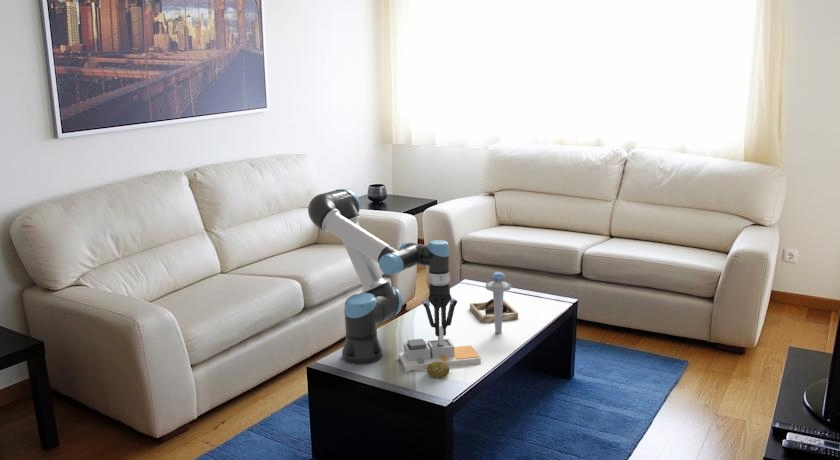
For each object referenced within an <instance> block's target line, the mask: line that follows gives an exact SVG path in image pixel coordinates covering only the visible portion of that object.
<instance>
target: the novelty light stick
mask: <svg viewBox="0 0 840 460" xmlns="http://www.w3.org/2000/svg"><path fill="white" fill-rule="evenodd" d="M505 279H506V275H505V274H504V273H503V272H501V271H495V272H492V276H491V280H492V281H488V282H486V283H485V289H486V290H487V291H490V292H492V296H493V297H492V299H494V313H493V315H494V318H495V321H494V331H495V334H502V330H503V327H502V326H503V320H502V314H503V313H504V312H503V300H504V292H507V291H510V290H511V288H512V284H511V283H510V282H508V281H504V280H505Z"/></svg>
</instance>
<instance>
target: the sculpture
mask: <svg viewBox="0 0 840 460" xmlns="http://www.w3.org/2000/svg"><path fill="white" fill-rule="evenodd" d="M426 372H427V374H428V375H429V376H430V377H432V378H434V379H441V378H444V377H445V378H446V376H448V375H449V373H450V367H449V366H448V365H447V364H446V363H443V362H433V363H431V364H429V365H428V367H427V369H426ZM436 377H437V378H436Z"/></svg>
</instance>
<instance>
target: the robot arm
mask: <svg viewBox="0 0 840 460" xmlns="http://www.w3.org/2000/svg"><path fill="white" fill-rule="evenodd" d="M307 210H308V211H307V212H308V213H307V214H308V216H309V220H310V221H311V222H312V223H313V225H315V226H316V227H317V228H318V229H319V230H321V231H323V232H324V233H331V234H332V235H334V236H336V237H337V238H339V239H340V240H341V241H342V244H343V245H344V248H345V250H346V253H347V254H348V257H349V260H350V261H351V265H352V267H353V268H354V270H355V273H356V275H357V278H358V279H359V280H358V281H359V282H360V284H361V286H362V289H361V292H360V293H355V294H352V295H350V296H348V298H347V299H346V300H345V301H344V309H343V310H344V311H343V312H344V323H345V324H344V326H345V341H344V343H343V348H342V353H341V355H342V360H343V361H344V362H346V363H348V362H349V364H352V363H354V365H366V364H367V365H368V364H372V363H375V362H378V361H379V360H381V359H382V358H383V348H382V345H381V343H380V341H379V338H378V327H377V326H378V325H379V324H381V323H383V322H385V321H387V320H390V319H392V318H394V317H395V316H396V315H398V314H399V313H400V312H401V310H402V307H403V296H402V294H401V292H400V290H399V289H398V288H396V287H395V286H392V285H391V284H390V281H389V280H387V279H385V278H383V276H382V273H383V274H384V275H387V276H392V275H395V274H396V275H397V274H399V273H400V272H402V271H405V270H407V269H410V268H412V267H414V266H417V265H418V266H419V265H420V266H427V267H428V282H429V284H428V289H429V290H428V291H429V293H428V294H429V296H428V297H427V298H428V299H427V300H426V301H423V302H422V305H423V306H424V308H425V311H426V315H427V319H428V322H429V325H430V327H431V328H434V334H435V336H436V337H437V340H438V344H439V345H444V339H445V338H444V337H445V336H446V335H447V327H448V326H450V327H451V325H452V320H453V317H454V313H455V307H456V305H457V304H458V300H457V299H456V298H453V297H452V295H451V284H450V281H451V280H450V278H451V277H450V247H449V243H448V241H446V240H443V239H436V240H435V239H434V240H431V241H429V242H428V244H420V243H415V242H404V243H402V244H401V246H399V249H396V248H395V247H392V246H391V245H389V244H388V243H386V242H385V241H383V240H382V239H380V238H378V237H377V236H375V235H373V234H372V233H370V232H368V231H367V230H366V229H364V228H363V227H361V225H360V222H359V221H360V219H361V215H360V214H359V213H360V211H361V201H360V198H359V196H358V195H357V194H356V193H355V192H354V191H352V190H350V189H347V188H338V189H335V190H332V191H327V192H324V193H319V194H317V195H315V196H314V197H313V198H312V199H311V200H310V201H309V204H308V207H307ZM377 263H378V264H377ZM381 272H382V273H381ZM449 303H450V304H449ZM430 305H431V306H433V312H434V313H433V315H434V319H433V316H432V311H431V309H430V307H431V306H430ZM448 305H449V307H448V311H447V306H448ZM440 316H441V321H440ZM440 322H441V325H440Z"/></svg>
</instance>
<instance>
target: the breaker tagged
mask: <svg viewBox="0 0 840 460" xmlns="http://www.w3.org/2000/svg"><path fill="white" fill-rule="evenodd" d="M431 344H432V345H433V347H434V348H436V347H445V346H450V345H449V344H448V343H447V341H444V345H439V344H438V342H431Z"/></svg>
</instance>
